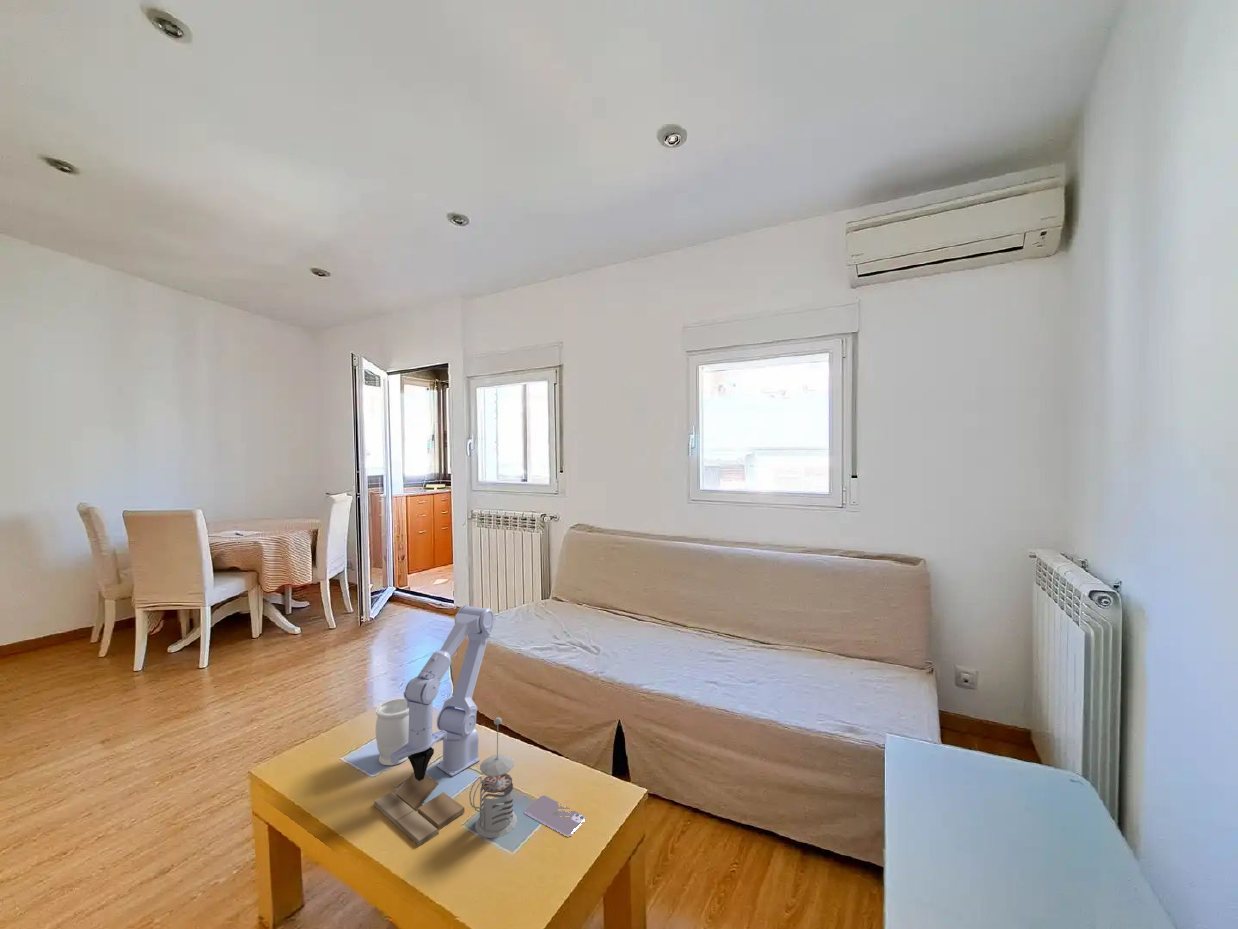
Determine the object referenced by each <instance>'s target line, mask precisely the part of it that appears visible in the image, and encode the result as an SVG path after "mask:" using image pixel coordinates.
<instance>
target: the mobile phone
mask: <svg viewBox="0 0 1238 929" xmlns="http://www.w3.org/2000/svg"><path fill="white" fill-rule="evenodd" d="M558 803H560V802H558V801H557V800H555V799H553V798H551V797H549V796H547V795H541V796H540V797H538V798H537V799H535V801H533V802H531V804H530V805H528V806H527V807H526V808H525V809H524V812H523V813H524V814H525V816H526V815H527V816H528V817H529V818H531V819H533V820H535V821H536V822H539V823H541V824H542V825H544V826H546V825H547V826H548V827H547V826H546V827H547V828H549V827H550V828H549V829H551V828H552V829H551V830H553V829H554V830H556V831H557V832H556V831H555V832H556V833H558V832H560V833H561V834H564V835H567V836H570V835H572V834H574V832H576V830H577V829H578V828H579V827H580V826H581V825H582V824H581V823H582V822H585V819H586V818H587V817H586V816H585V815H584V814H582V813H579V812H578V811H577V810H574V811H571V812H570V811H569V812H570V813H571V814H570V813H568V812H565V811H563V810H562V812H561V811H558V809H571V807H568V806H566V808H564V807H562V806H560V807H559V805H558ZM561 804H562V803H561ZM561 804H560V805H561ZM560 816H562V817H560ZM565 816H570V817H565ZM584 816H585V817H586V818H585V817H584ZM554 830H553V831H554ZM560 833H559V834H560ZM576 833H577V832H576ZM561 834H560V835H561ZM574 835H575V834H574ZM572 836H573V835H572Z"/></svg>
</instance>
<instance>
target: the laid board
mask: <svg viewBox="0 0 1238 929" xmlns="http://www.w3.org/2000/svg"><path fill="white" fill-rule="evenodd" d="M373 802H374V803H373V806H374V807H375V808H376V809H378V811H380V812H381V813H382V814H383V815H384V816H385V817H386V818H387V819H389V821H391V822H392V824H394V825H395V826H396V827H398V829H400V831H402V832H404V834H405V835H407V836H408V837H409V838H410V839H411V841H413V842H414V843H415V844H417V845H418V846H419V847H420V846H422V845H424V844H426V843H427V842H428V841H429V840H431V839H433V838H434V837H436V836H437V835H439V833H440V832H439V831H440V830H438V829H437V828H436V827H435V826H433V825H432V824H431V823H430V822H429V821H427V820H426V819H425V818H424V817H423V816H421V815H420V814H419V813H418V811H417V810H416V811H415V810H414V809H413V808H412V807H410V806H409V805H408V804H407V803H405V802H404V801H403V800H402V799H401V798H399V797H398V796H397V795H396V794H395V793H394V792H393V791H390V792H388V793H385V795H384V794H383V796H380V797H379V798H377V799H375V800H374V801H373Z"/></svg>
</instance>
